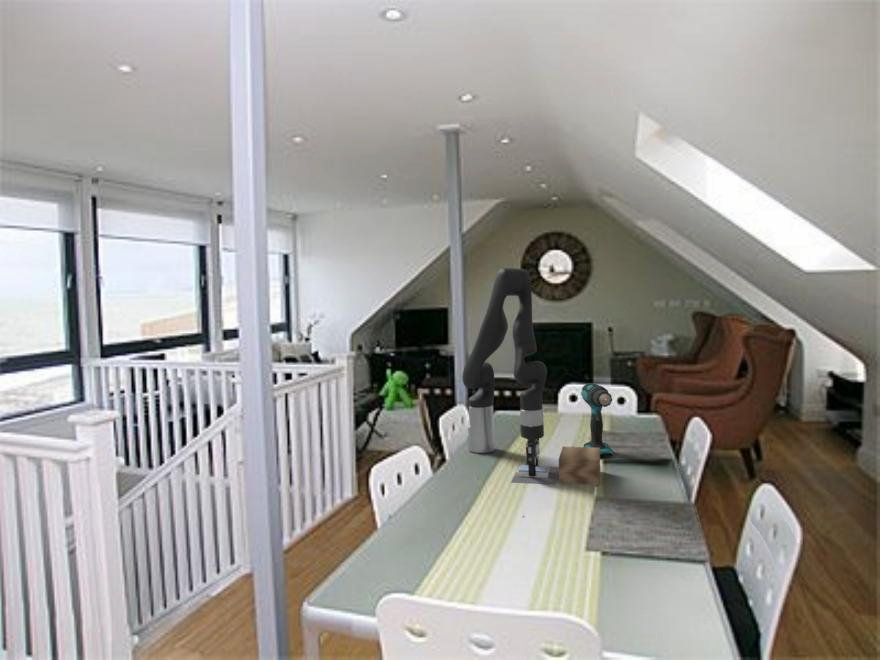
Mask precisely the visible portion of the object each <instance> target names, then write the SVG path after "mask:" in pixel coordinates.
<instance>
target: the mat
mask: <svg viewBox="0 0 880 660" xmlns="http://www.w3.org/2000/svg"><path fill="white" fill-rule="evenodd" d="M521 465H522V464H519V466H518V467H517V469H516V470H515V471H516V472H515V474H514V476H513V477H512V479H511V481H510V483H514V484H515V483H516V484H535V485H550V486H551V485H553V486H554V485H555V486H556V484H557V481H558V479H559V466H552V465H551V466H550V465H547V466H548V467H549V468H550V474H549V476H548V478H540V477H518V476H517V471H518V469H519V467H520V466H521ZM526 466H528V465H527V464H526Z"/></svg>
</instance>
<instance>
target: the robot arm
mask: <svg viewBox="0 0 880 660" xmlns="http://www.w3.org/2000/svg"><path fill="white" fill-rule="evenodd" d="M532 294H533V293H532V280H531V276H530V273H529V271H528V270H527V269H524V268H513V267H509V268H508V267H502V268H501V269H499V270H498V272H497V274H496V275H495V279H494V282H493V285H492V290H491V294H490V298H489V303H488V306H487V310H486V312H485V315H484V318H483V321H482V322H481V325H480V329H479V331H478V335H477V337H476V340H475V343H474V346H473V349H472V351H471V353H470V355H469V357H468V359H467V361H466V362H465V365H464V368H463V370H462V382H463V385H464V387H466V388H467V389H471V390H472V389H473V390H474V389H478V390H477V391H476V392H475V394H473V395H471V396H470V397H469V398H468V402H467V403H468V421H469V422H468V424H469V425H468V427H467V430H468V431H467V434H468V436H467V437H468V438H467V439H468V451H469V452H472V453H475V454H476V453H477V454H484V453H485V454H486V453H491V452H494V451H495V448H496V447H495V443H496V442H495V426H494V425H495V424H494V422H495V421H494V419H495V418H494V400H495V371H494V368H493V366H492V364H491V363H489V362H487V360H488V359H489V358H490V357H492V355H493V354H494V353H495V352H496V351H497V350H498V349H499V348H500V347H501V345H502V344H503V342H504V340H505V338H506V335H507V332H508V328H509V323H508V320H507V316H506V314H505V310H504V305H505V300H506V298H507V297H509V296H511V297H512V296H514V297H517V298H518V301H519V307H518V308H519V309H518V312H517V315H516V318H515V320H514V322H513V326H512V339H513V345H514V355H515V356H514V364H513V378H514V380H515V381H516V382H517V383H518V384H520V385H526V384H532V385H531V387H530V388H527V389H525V390H523V391H521V392H520V394H519V395H520V396H519V397H520V398H519V400H520V401H519V402H520V404H519V405H520V413H519V420H520V426H519V427H520V437H521V438H523V439H526V440H527V441H526V443H525V456H526V457H525V458H526V465H528V468H529V476H535V475H536V466H539V457H540V445H541V444H540V439H542V438H543V437H544V436H545V427H544V426H545V425H544V423H545V422H544V421H545V420H544V411H543V394H544V387H545V384H546V379H547V374H548V370H547V367H546V364H545V363H544V362H543V361H540V360H532V361H525V359H526V357H528V356H532V355H534V354H536V353H537V351H538V349H537V347H538V346H537V342H536V337H535V336H536V335H535V331H534V325H533V324H534V323H533V298H532V296H533V295H532Z"/></svg>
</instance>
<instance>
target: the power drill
mask: <svg viewBox="0 0 880 660" xmlns="http://www.w3.org/2000/svg"><path fill="white" fill-rule="evenodd" d="M580 393H581V397H582V400H583V401H584V402H585V403H586V404H587V405H588V406H589V407H590V409H591V410H590V412H591V414H590V421H589V422H590V424H589V427H590V436H591V439H590V441H588V442H585V443H584V444H583V447H592V448H600V455H604V454H603V453H608V454H610V452H612V453H613V449H612V448H611V447H610V446H609V444H608V443H607V442H603V432H604V431H603V430H604V423H603V415H602V410H603V407H604V408H606V407H608V406H610V405H611V404H612V402H613V398H612V394H611V393H610V392H609V390H608V389H607V388H606V387H604V386H602V385H599V384H596V383H594V382H589V383H588V382H587V383H585V384H584V385H583V386H582V388H581V392H580Z"/></svg>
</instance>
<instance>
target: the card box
mask: <svg viewBox="0 0 880 660" xmlns="http://www.w3.org/2000/svg"><path fill="white" fill-rule="evenodd" d="M520 465H521V466H520ZM520 465H519V466H520V467H519V466H518V467H519V469H518V468H517V469H518V471H517V470H516V471H517V476H518V477H540V478H548V476H549V474H550V468H549V467H548V466H549V465H547V466H544V465H538V466H536V475H535V476H529V468H528V466H526V465H527V464H526V465H523V464H520Z"/></svg>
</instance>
